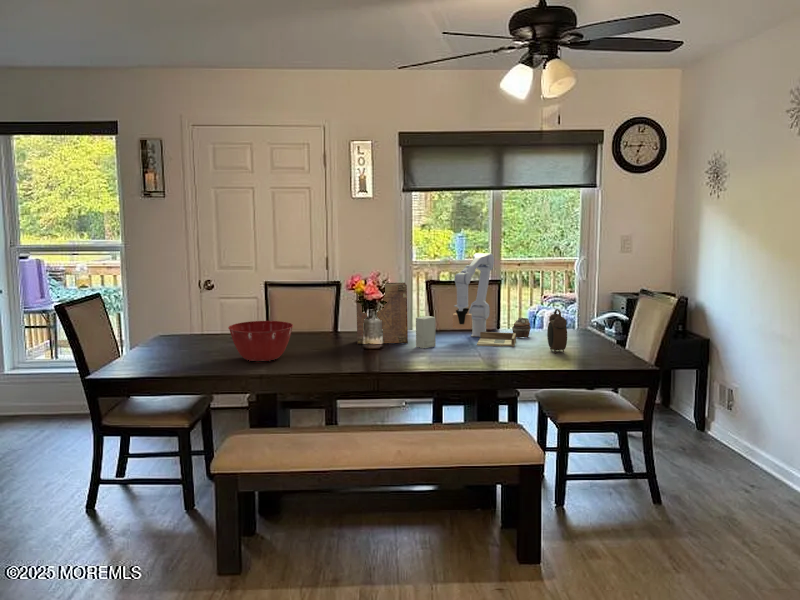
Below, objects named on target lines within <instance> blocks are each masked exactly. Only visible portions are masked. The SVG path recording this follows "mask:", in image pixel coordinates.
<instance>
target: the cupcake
mask: <svg viewBox="0 0 800 600" xmlns="http://www.w3.org/2000/svg"><path fill="white" fill-rule="evenodd" d="M511 328H512V333H516V337H527V338H529V337H530V332H531V328H532V326H531V322H530V319H529V318H526V317H518V319H517V320H516V321H514V323H513V326H512V327H511ZM528 336H529V337H528Z"/></svg>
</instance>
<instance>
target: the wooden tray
mask: <svg viewBox="0 0 800 600" xmlns="http://www.w3.org/2000/svg"><path fill="white" fill-rule="evenodd" d="M516 342H517V338H516V333H513V332H494V331H493V332H492V331H491V332H490V331H486V332H480V337H479V339H478V341H477V343H476V346H478V347H479V346H481V347H503V346H512V347H511V348H514V347H515V345H516Z"/></svg>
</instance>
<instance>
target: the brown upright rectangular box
mask: <svg viewBox="0 0 800 600" xmlns="http://www.w3.org/2000/svg"><path fill="white" fill-rule="evenodd" d="M385 283H386V284H385V285H384V287H385V296H384V298H383V300H384V301H386V302H387V304H385V305H384V308H382V310H380V311H378V312H377V317H378V318H379V319H380V320H382V329H383V340H384V343H407V344H408V343H409V341H408V340H409V337H408V332H409V331H408V288H407V287H408V285H407V284H406V282H385ZM355 293H356V292H355ZM355 296H356V297H355V300H356V343H357V345H358V344H361V343H362V339H363V323H364V319H365V318H366V317H367V313H362V306H361V304H359V303H357V301H358V299H359V296H358V294H357V293H356V294H355Z"/></svg>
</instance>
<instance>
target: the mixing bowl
mask: <svg viewBox="0 0 800 600" xmlns="http://www.w3.org/2000/svg"><path fill="white" fill-rule="evenodd" d="M293 327H294V324H293V323H291V322H287V321H279V320H255V321H245V322H238V323H235V324H231V325H229V326H228V330H229V332H230V336H231V339H232V341H233V344H234V346H235V348H236V350H237V352H238V354H239V355H240V356H241V357H242V358H243V359H244V360H246V361H248V360H249V361H248V362H250V361H269V360H274V359H276V360H277V359H279V358H280V357H281V356H282V355H283V354H284V352H285V351H286V348H287V346H288V344H289V342H290V338H291V335H292V332H293ZM274 361H275V360H274ZM269 362H270V361H269Z"/></svg>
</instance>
